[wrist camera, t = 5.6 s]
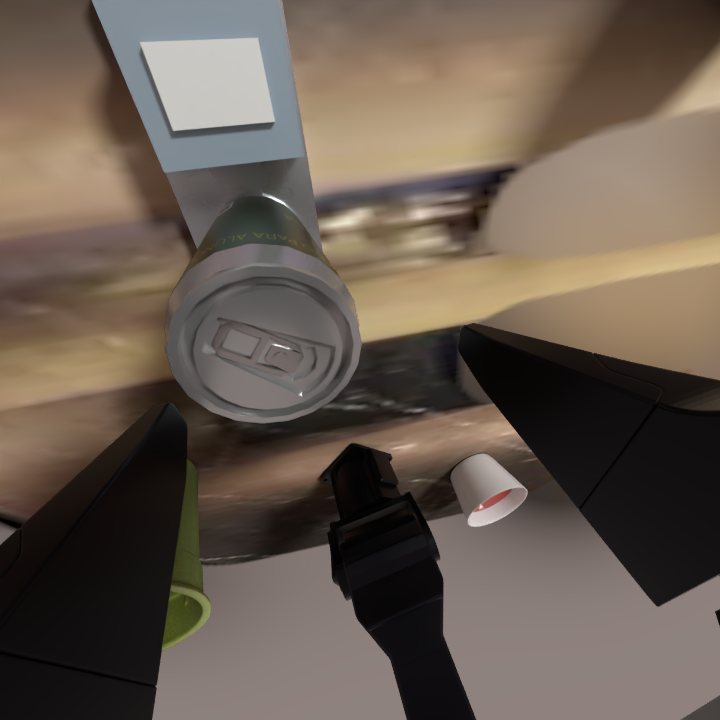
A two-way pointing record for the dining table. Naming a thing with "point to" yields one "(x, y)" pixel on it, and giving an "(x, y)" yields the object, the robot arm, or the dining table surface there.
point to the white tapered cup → (485, 490)
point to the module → (206, 78)
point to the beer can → (261, 318)
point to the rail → (248, 182)
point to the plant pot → (187, 573)
